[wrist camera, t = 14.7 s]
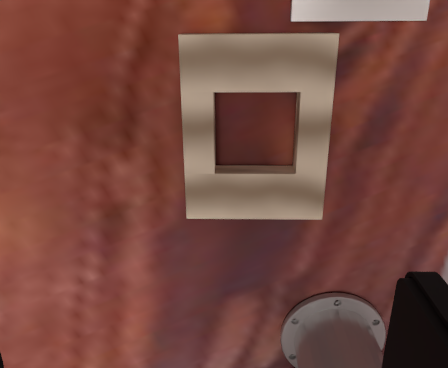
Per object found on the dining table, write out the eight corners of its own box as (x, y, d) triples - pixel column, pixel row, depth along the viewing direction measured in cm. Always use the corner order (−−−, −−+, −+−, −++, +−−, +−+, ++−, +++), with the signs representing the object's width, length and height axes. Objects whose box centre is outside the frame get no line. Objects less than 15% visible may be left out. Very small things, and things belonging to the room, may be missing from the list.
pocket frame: (317, 209, 45) (321, 219, 42) (189, 208, 45) (186, 218, 43) (333, 32, 38) (339, 33, 36) (181, 33, 38) (178, 34, 36)
